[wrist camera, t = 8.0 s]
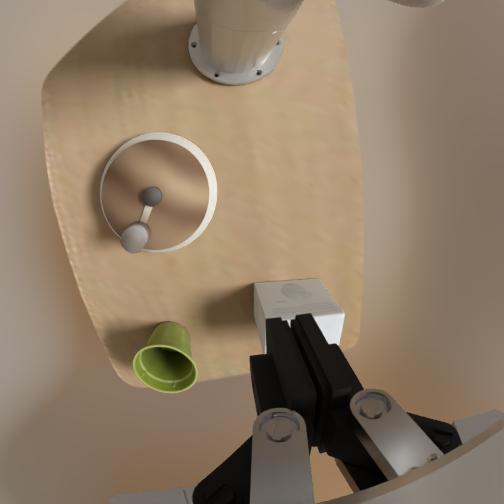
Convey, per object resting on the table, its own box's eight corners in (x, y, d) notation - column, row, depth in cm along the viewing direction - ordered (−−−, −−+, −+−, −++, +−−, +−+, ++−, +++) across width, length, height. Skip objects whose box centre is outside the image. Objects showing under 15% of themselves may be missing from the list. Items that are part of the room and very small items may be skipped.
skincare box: (253, 318, 46) (263, 360, 36) (253, 282, 44) (264, 319, 34) (316, 312, 47) (339, 350, 38) (320, 277, 45) (346, 311, 35)
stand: (131, 116, 34) (127, 114, 32) (237, 162, 38) (238, 163, 36) (90, 221, 38) (84, 225, 36) (188, 265, 42) (187, 271, 40)
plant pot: (153, 360, 47) (145, 395, 39) (136, 316, 44) (123, 348, 36) (204, 354, 48) (204, 390, 40) (191, 308, 44) (188, 341, 36)
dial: (127, 125, 32) (114, 122, 27) (227, 164, 36) (229, 166, 31) (93, 224, 36) (78, 234, 31) (185, 261, 39) (181, 277, 34)
